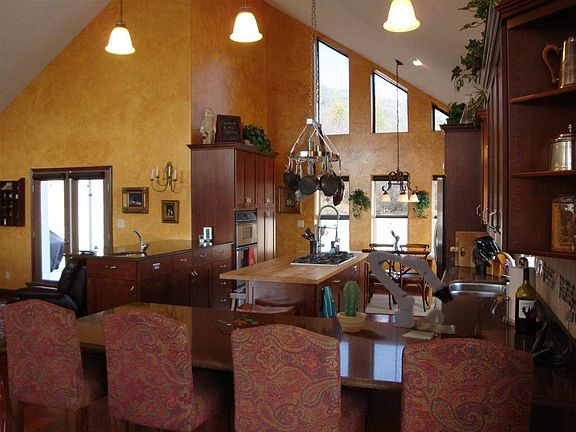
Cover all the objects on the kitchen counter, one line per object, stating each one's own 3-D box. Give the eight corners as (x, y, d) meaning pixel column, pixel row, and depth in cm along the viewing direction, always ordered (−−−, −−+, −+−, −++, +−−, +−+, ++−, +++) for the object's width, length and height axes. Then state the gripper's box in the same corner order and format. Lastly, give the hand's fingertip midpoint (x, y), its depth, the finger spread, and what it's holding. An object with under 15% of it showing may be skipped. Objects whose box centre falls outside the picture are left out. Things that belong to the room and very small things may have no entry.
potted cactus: (371, 328, 275) (371, 280, 275) (358, 334, 262) (357, 284, 262) (345, 325, 284) (344, 278, 283) (330, 331, 271) (330, 282, 271)
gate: (414, 329, 270) (414, 322, 270) (415, 328, 271) (415, 322, 271) (449, 333, 260) (449, 326, 260) (450, 332, 261) (450, 326, 261)
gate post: (450, 334, 259) (450, 325, 259) (451, 334, 261) (451, 325, 261) (454, 335, 258) (454, 326, 258) (455, 334, 260) (455, 325, 260)
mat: (401, 336, 258) (401, 335, 258) (413, 330, 269) (413, 330, 269) (429, 340, 250) (429, 339, 250) (440, 334, 261) (440, 333, 261)
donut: (428, 329, 272) (428, 309, 272) (425, 328, 275) (424, 308, 275) (445, 327, 275) (445, 308, 275) (441, 326, 278) (441, 307, 278)
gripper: (433, 276, 264) (450, 299, 259) (443, 273, 276) (460, 294, 271) (422, 285, 267) (439, 307, 263) (432, 281, 279) (449, 302, 274)
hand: (449, 301), depth 267 cm, fingers open, 7 cm apart
